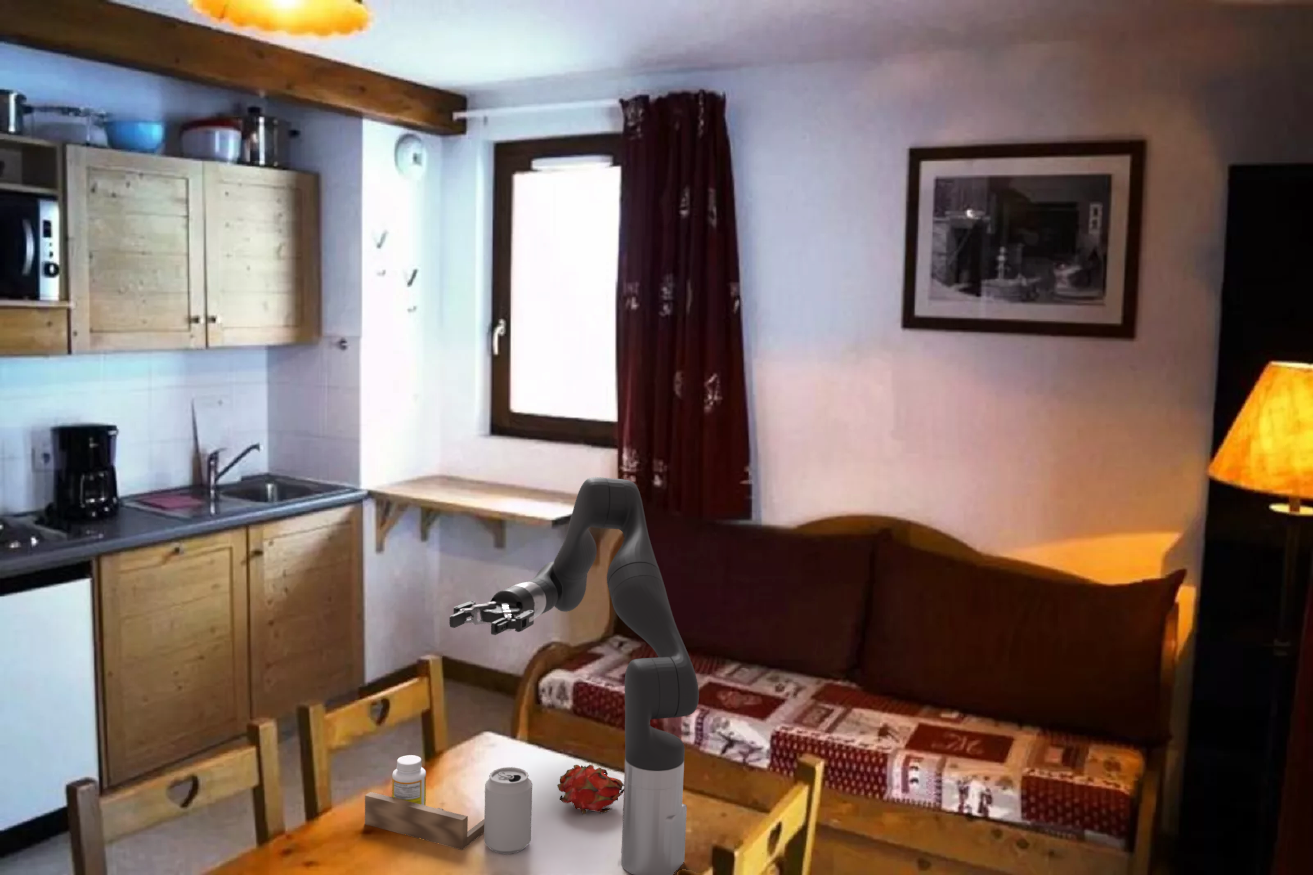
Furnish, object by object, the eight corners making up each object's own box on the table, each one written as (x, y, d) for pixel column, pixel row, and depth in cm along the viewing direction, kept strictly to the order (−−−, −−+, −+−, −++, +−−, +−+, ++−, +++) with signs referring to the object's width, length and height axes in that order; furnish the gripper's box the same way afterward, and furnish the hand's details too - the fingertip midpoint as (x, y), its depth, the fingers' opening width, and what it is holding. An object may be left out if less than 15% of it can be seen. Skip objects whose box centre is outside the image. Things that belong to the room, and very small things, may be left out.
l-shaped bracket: (488, 829, 182) (489, 800, 182) (462, 850, 175) (462, 820, 174) (394, 805, 190) (394, 777, 189) (364, 824, 182) (364, 795, 182)
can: (522, 859, 173) (524, 786, 172) (477, 853, 174) (478, 780, 173) (536, 837, 180) (538, 767, 179) (493, 831, 182) (494, 762, 180)
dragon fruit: (551, 814, 192) (618, 825, 193) (554, 805, 185) (624, 816, 185) (559, 765, 196) (625, 776, 197) (562, 754, 189) (631, 765, 190)
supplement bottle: (406, 807, 189) (407, 750, 188) (432, 815, 187) (433, 757, 185) (384, 820, 184) (385, 761, 183) (410, 828, 182) (411, 769, 180)
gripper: (486, 580, 211) (438, 599, 197) (552, 590, 206) (507, 610, 191) (486, 618, 212) (437, 640, 197) (551, 629, 207) (506, 652, 192)
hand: (472, 625), depth 194 cm, fingers open, 8 cm apart
